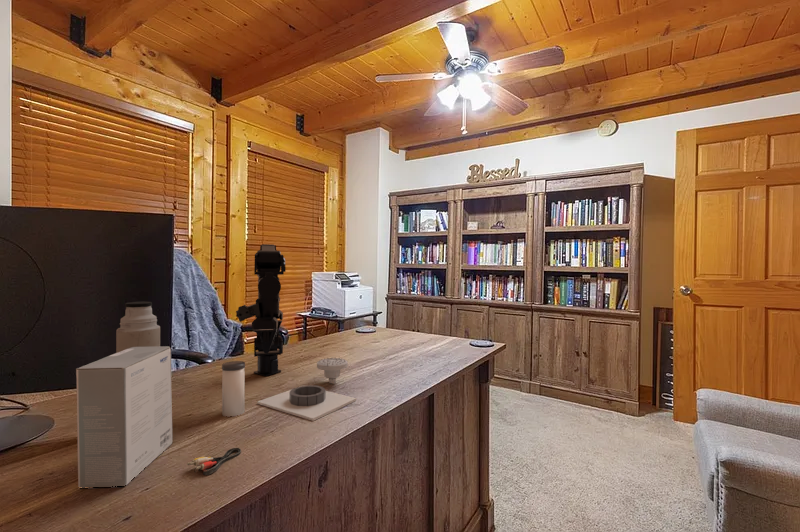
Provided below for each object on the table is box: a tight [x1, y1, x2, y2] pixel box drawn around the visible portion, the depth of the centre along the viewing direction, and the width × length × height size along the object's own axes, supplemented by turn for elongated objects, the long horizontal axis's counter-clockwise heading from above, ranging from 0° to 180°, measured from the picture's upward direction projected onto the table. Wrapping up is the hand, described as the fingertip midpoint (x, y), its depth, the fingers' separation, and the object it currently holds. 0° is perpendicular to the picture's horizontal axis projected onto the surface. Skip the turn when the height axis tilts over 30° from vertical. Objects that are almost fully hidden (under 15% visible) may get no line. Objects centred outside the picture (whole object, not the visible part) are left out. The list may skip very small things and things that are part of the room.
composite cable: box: [186, 447, 242, 476], centre depth 70 cm, size 10×5×2 cm, turn 145°
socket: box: [257, 384, 357, 422], centre depth 102 cm, size 20×16×3 cm
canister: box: [221, 360, 246, 418], centre depth 94 cm, size 5×5×12 cm
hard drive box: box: [75, 345, 173, 488], centre depth 70 cm, size 16×8×20 cm, turn 5°
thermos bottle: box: [115, 301, 161, 353], centre depth 85 cm, size 8×8×28 cm
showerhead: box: [316, 357, 349, 384], centre depth 118 cm, size 9×7×10 cm
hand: (268, 349), depth 109 cm, fingers open, 9 cm apart
